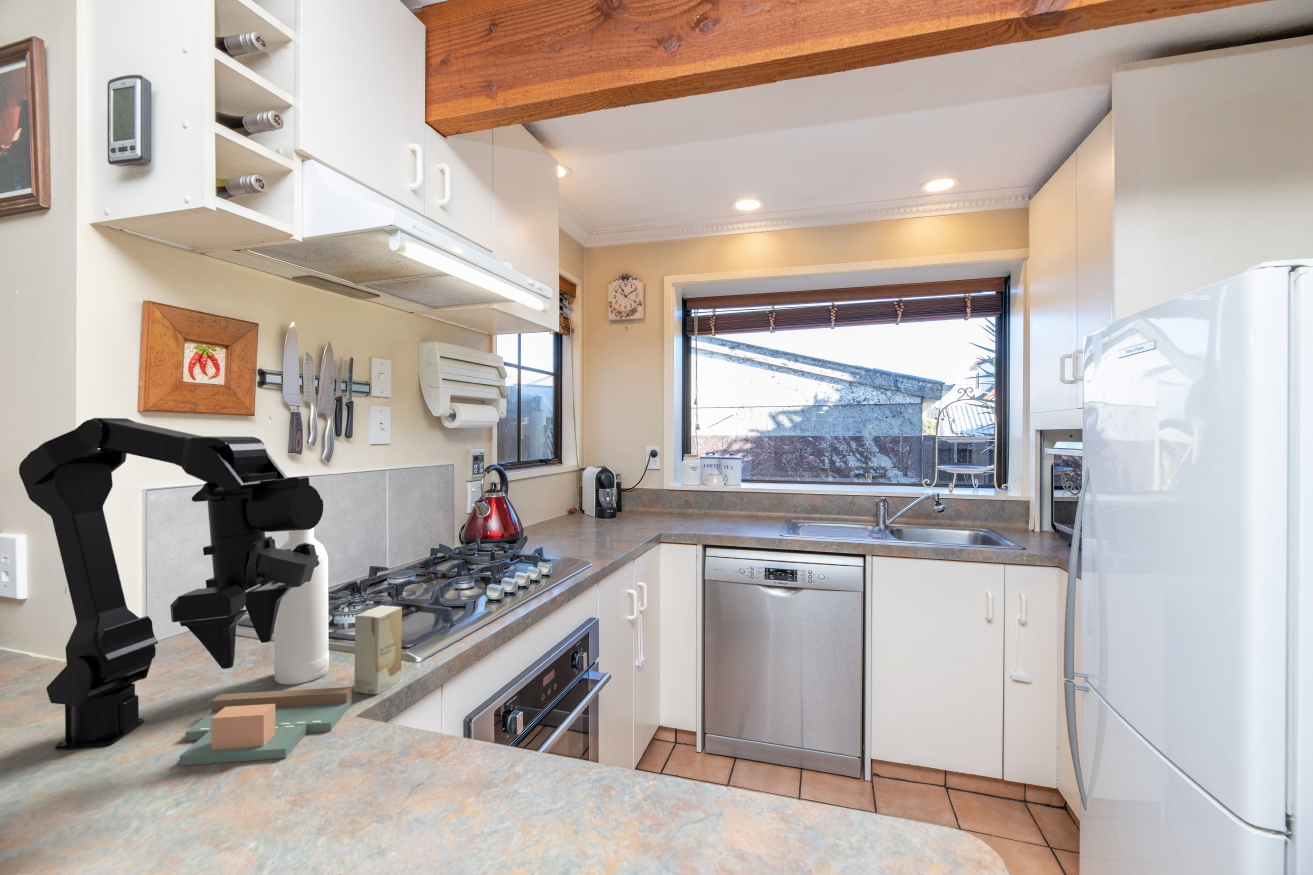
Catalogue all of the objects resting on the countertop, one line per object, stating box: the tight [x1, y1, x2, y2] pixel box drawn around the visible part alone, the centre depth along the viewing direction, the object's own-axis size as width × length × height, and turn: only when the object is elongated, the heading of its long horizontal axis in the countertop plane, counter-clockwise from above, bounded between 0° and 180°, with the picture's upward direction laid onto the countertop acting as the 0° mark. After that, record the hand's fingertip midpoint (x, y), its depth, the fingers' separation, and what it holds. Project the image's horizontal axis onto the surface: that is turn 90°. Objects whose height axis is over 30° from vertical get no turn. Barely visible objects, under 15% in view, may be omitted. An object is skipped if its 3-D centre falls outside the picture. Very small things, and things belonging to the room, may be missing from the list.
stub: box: [179, 704, 307, 767], centre depth 76 cm, size 12×6×5 cm, turn 99°
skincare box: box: [353, 604, 403, 695], centre depth 94 cm, size 6×4×12 cm
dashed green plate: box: [185, 686, 353, 742], centre depth 83 cm, size 18×8×3 cm, turn 99°
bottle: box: [273, 527, 330, 686], centre depth 98 cm, size 8×8×30 cm
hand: (248, 654), depth 75 cm, fingers open, 9 cm apart
